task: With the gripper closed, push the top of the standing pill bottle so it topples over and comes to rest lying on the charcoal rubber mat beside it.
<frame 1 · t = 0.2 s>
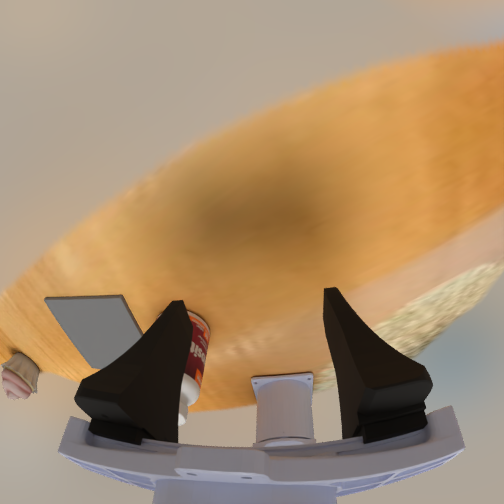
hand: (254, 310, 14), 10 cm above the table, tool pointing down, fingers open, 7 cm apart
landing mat: (104, 337, 32), on the table
cupcake: (28, 361, 40), on the table
pill bottle: (183, 325, 30), on the table
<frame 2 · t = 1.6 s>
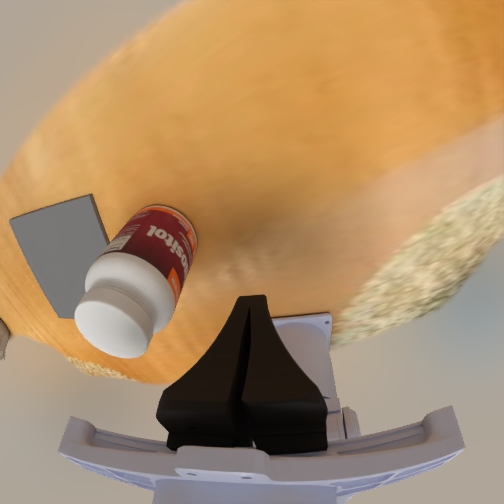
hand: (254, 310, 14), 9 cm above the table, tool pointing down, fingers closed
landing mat: (70, 267, 25), on the table
pill bottle: (163, 235, 23), on the table
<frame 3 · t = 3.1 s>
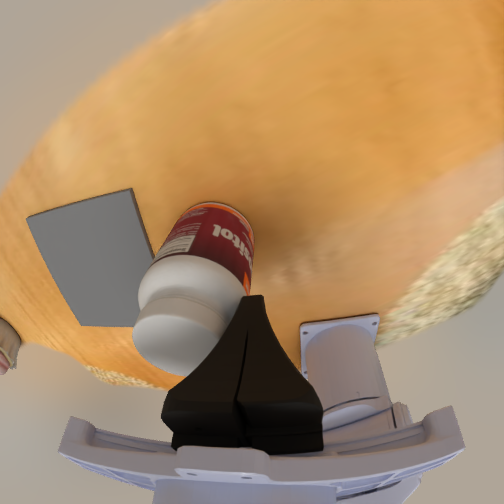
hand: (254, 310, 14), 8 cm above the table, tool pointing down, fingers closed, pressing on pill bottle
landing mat: (98, 270, 24), on the table
cupcake: (8, 329, 32), on the table
pill bottle: (214, 235, 22), on the table, touching gripper
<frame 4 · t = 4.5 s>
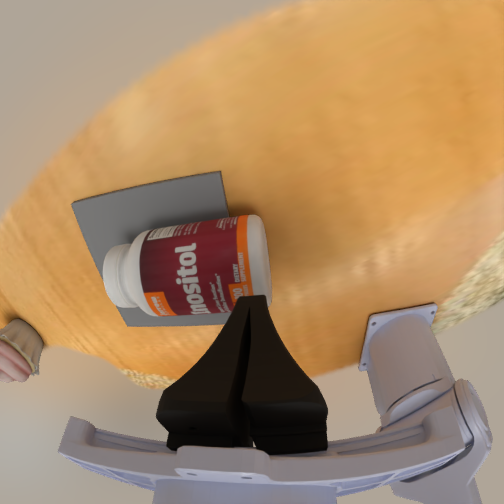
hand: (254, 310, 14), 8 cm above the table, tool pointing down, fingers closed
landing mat: (161, 263, 23), on the table
cupcake: (28, 331, 32), on the table
pill bottle: (270, 259, 18), point 4 cm above the table, touching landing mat
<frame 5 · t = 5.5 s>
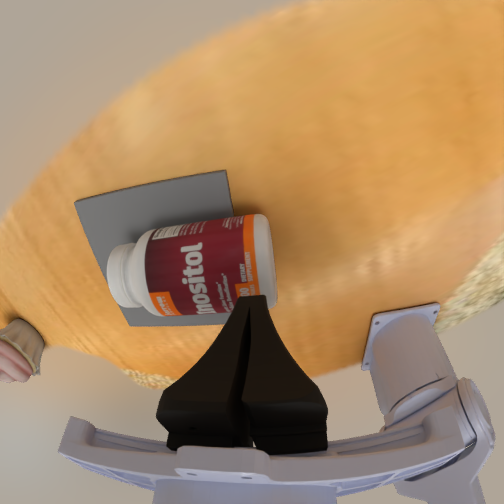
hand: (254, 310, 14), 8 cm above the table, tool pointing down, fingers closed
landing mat: (165, 263, 23), on the table
cupcake: (29, 331, 32), on the table
pill bottle: (276, 259, 18), point 4 cm above the table, touching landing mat
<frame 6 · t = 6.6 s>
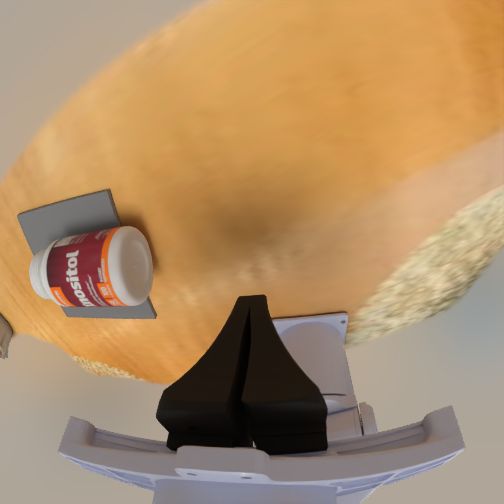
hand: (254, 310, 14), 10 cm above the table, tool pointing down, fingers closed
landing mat: (81, 264, 25), on the table
cupcake: (1, 320, 33), on the table
pill bottle: (140, 264, 20), point 4 cm above the table, touching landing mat
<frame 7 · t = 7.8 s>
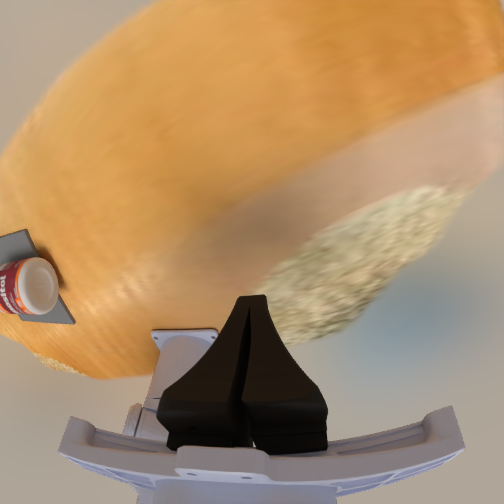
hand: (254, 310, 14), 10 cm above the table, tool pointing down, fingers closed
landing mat: (22, 281, 28), on the table
pill bottle: (43, 285, 24), point 4 cm above the table, touching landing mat
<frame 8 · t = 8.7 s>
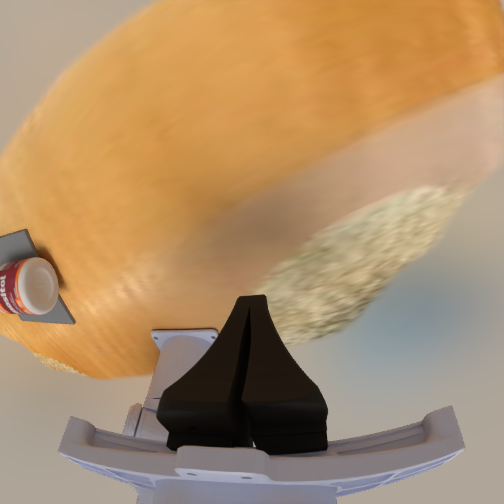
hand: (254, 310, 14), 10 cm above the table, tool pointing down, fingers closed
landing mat: (22, 281, 28), on the table
pill bottle: (43, 285, 24), point 4 cm above the table, touching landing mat
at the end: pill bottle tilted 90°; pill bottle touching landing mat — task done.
